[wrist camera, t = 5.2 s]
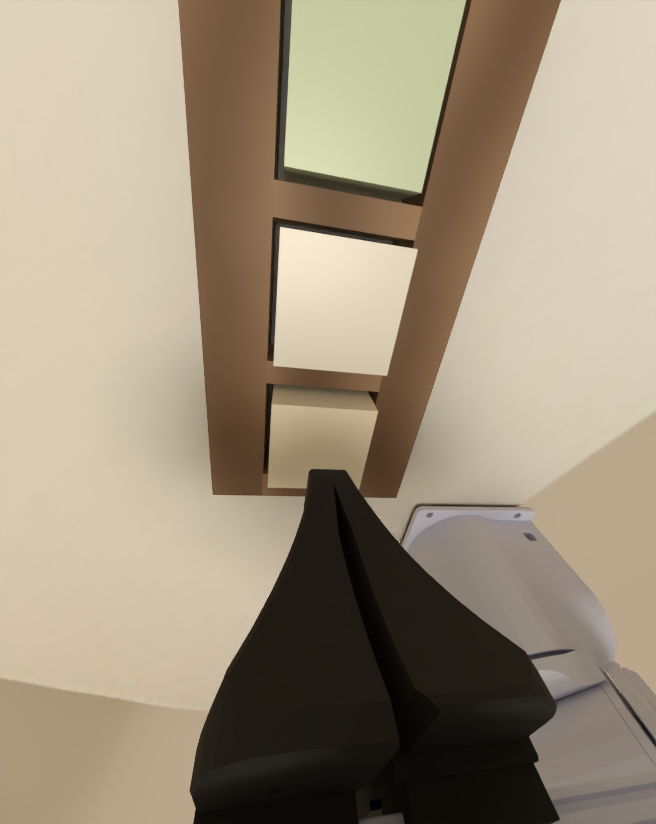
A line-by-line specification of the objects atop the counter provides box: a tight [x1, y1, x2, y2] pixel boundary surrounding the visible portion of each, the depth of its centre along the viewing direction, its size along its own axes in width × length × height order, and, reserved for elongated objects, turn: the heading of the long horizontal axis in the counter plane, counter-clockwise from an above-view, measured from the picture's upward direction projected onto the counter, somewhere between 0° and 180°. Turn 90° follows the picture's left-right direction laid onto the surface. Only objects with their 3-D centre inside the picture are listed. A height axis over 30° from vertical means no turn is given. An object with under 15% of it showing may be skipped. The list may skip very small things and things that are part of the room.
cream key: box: [268, 384, 378, 490], centre depth 14 cm, size 4×4×2 cm
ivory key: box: [273, 227, 418, 376], centre depth 11 cm, size 4×4×2 cm
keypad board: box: [178, 0, 561, 498], centre depth 12 cm, size 10×20×2 cm, turn 172°
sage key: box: [284, 0, 466, 202], centre depth 9 cm, size 4×4×2 cm
